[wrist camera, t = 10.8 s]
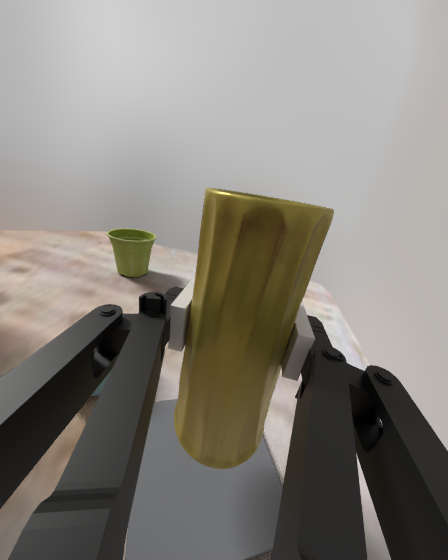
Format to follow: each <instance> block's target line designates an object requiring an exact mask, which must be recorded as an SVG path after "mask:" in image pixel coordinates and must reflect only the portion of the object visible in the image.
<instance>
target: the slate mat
mask: <svg viewBox="0 0 448 560" xmlns="http://www.w3.org/2000/svg"><path fill="white" fill-rule="evenodd" d="M177 401H178V399H175V400H168V401H160V402H154V405H153V410H152V414H151V419H150V424H149V429H148V433H147V438H146V443H145V448H144V452H143V457H142V462H141V466H140V471H139V476H138V481H137V485H136V490H135V495H134V500H133V504H132V509H131V514H130V518H129V524H128V535H127V545H126V556H125V560H249V559H252V558H254V557H257V556H259V555H261V554H264V553H266V552H269V551H271V550H273V544H274V538H275V532H276V526H277V520H278V514H279V508H280V502H281V496H282V490H283V488H282V485H281V483H280V480H279V477H278V475H277V472H276V469H275V467H274V464H273V462H272V459H271V456H270V454H269V451H268V449H267V446H266V443H265V441H264V438H263V436H262V439H261V442H260V445H259V447H258V448H257V450H256V451H255V453H254V454H253V455H252V456H251V457H250V458H249V459H248V460H247V461H245V462H244V463H242V464H240V465H238V466H236V467H233V468H228V469H216V468H211V467H207V466H204V465H202V464H200V463H199V462H197V461H196V460H194V459H193V458H192V457H191V456H190V455H189V454H188V453H187V452H186V451H185V450H184V448H183V447H182V446H181V444H180V442H179V440H178V438H177V435H176V431H175V426H174V412H175V406H176V403H177Z"/></svg>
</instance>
